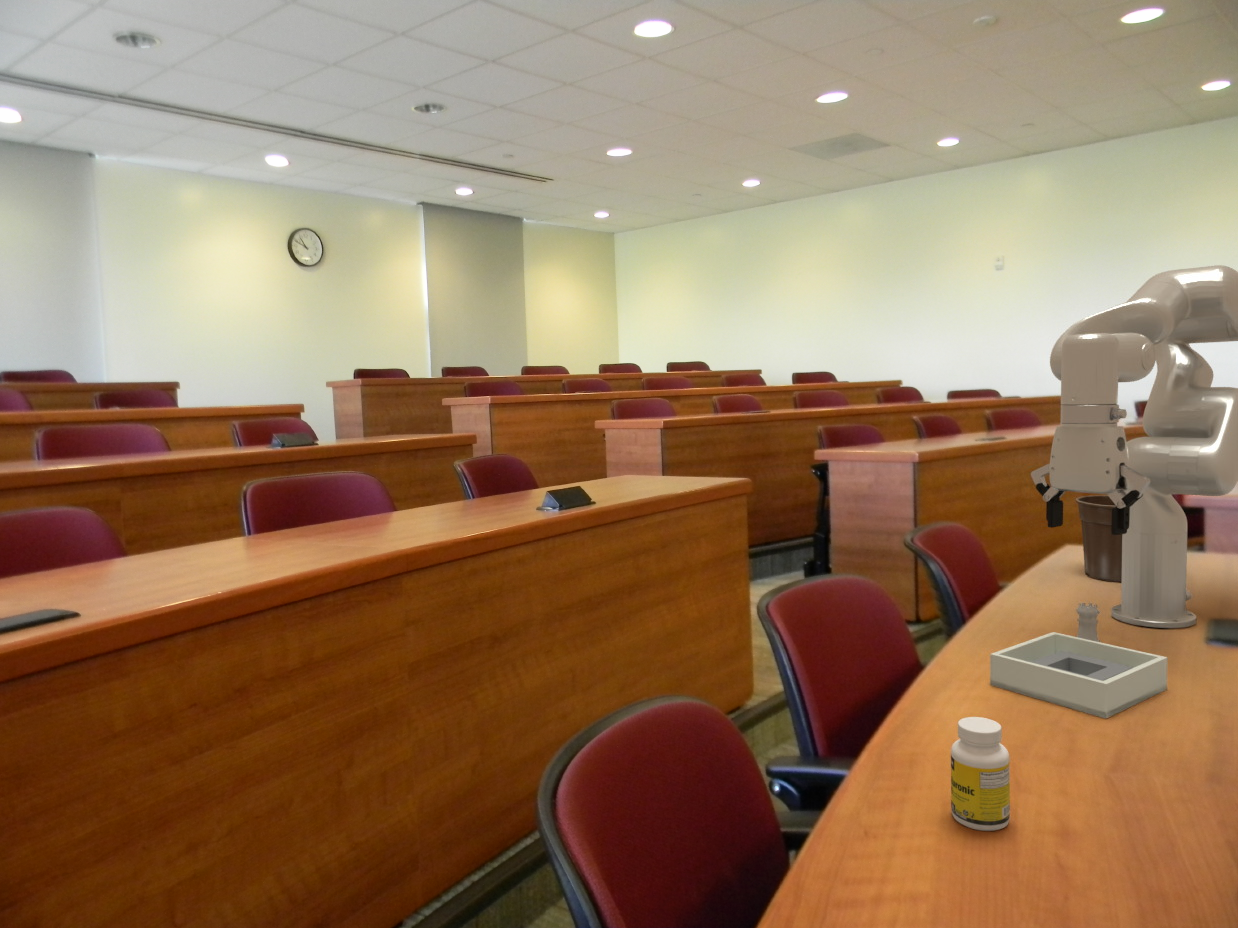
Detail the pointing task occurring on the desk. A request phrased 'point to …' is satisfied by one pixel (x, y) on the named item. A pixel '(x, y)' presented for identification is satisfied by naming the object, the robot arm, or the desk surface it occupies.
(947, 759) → the desk surface
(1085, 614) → the rook chess piece
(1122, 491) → the robot arm
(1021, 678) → the box
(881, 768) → the desk surface
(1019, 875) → the desk surface
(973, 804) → the supplement bottle
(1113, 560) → the plant pot
